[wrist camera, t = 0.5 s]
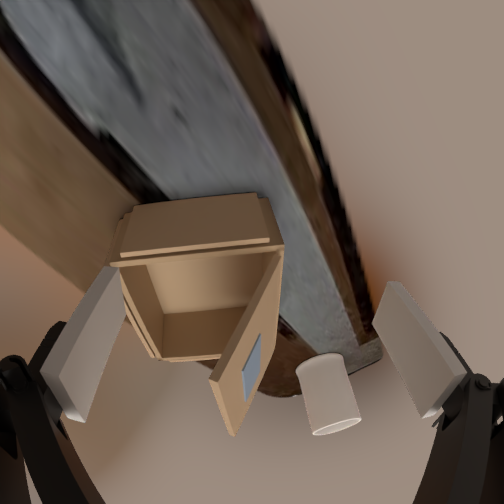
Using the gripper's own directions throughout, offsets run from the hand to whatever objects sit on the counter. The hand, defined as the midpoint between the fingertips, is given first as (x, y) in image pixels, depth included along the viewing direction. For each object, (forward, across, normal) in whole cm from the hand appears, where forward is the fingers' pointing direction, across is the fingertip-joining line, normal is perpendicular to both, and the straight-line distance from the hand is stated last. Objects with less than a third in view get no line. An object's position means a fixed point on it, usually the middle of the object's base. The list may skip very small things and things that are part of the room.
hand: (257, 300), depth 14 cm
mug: (+22, +16, -30) cm, 41 cm away
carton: (+14, -3, -6) cm, 15 cm away
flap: (+8, +3, -7) cm, 11 cm away
